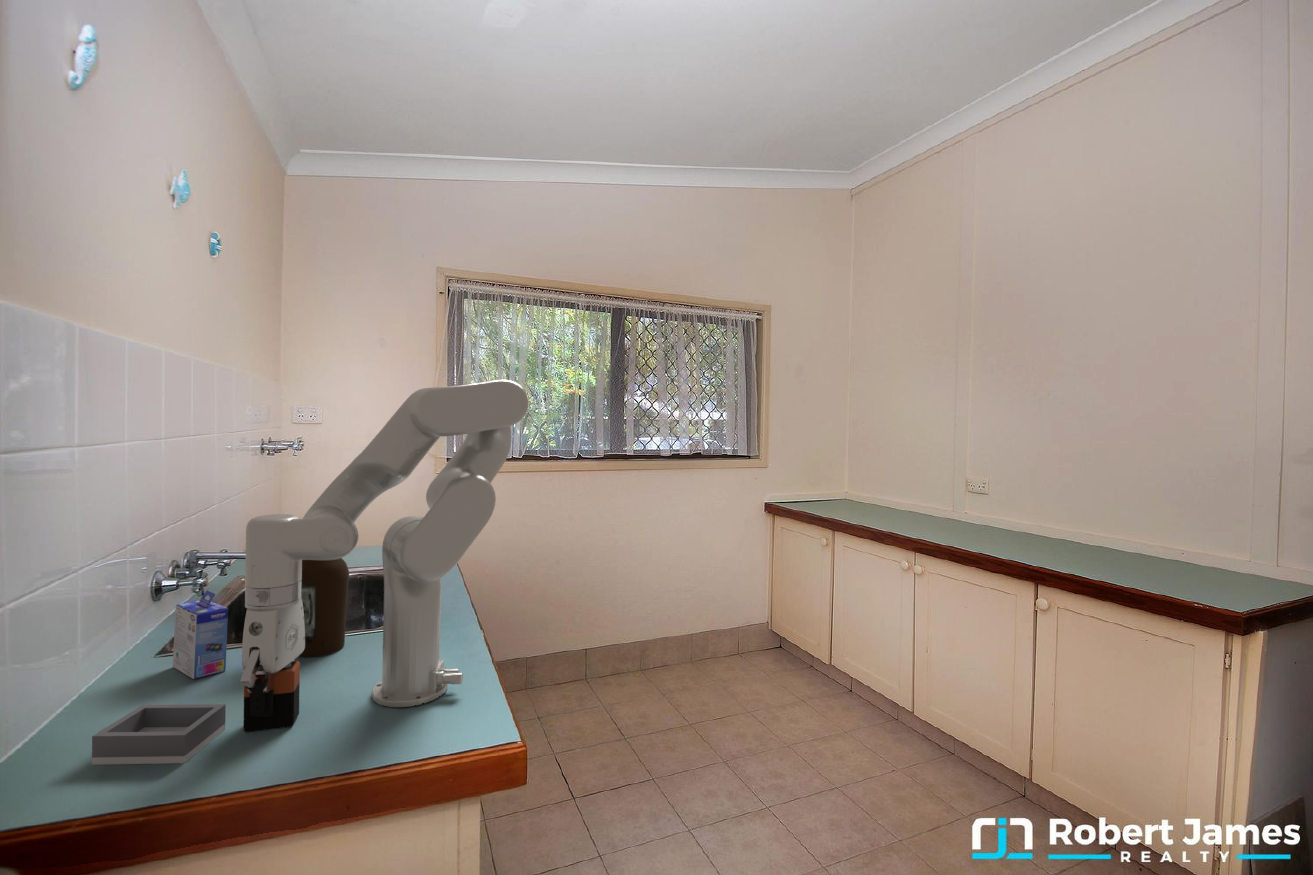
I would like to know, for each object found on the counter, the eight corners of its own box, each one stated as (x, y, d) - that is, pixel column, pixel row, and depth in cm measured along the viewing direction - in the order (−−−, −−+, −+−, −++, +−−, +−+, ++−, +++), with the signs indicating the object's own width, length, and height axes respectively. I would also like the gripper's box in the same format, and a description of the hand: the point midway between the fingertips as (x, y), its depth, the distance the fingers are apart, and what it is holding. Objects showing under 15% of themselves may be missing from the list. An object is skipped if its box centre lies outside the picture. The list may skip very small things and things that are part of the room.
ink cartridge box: (228, 670, 112) (230, 595, 112) (194, 681, 108) (195, 602, 107) (205, 658, 117) (206, 586, 117) (171, 667, 113) (172, 592, 112)
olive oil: (324, 636, 131) (327, 524, 130) (358, 644, 127) (361, 529, 126) (277, 652, 121) (279, 531, 121) (312, 662, 117) (315, 537, 116)
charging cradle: (225, 729, 92) (225, 704, 92) (184, 763, 83) (184, 735, 83) (142, 730, 91) (142, 704, 91) (91, 764, 82) (92, 736, 82)
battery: (293, 727, 93) (294, 665, 93) (242, 733, 91) (243, 669, 90) (299, 714, 97) (300, 654, 97) (251, 720, 95) (252, 658, 94)
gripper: (268, 611, 85) (266, 734, 86) (324, 579, 102) (322, 682, 103) (213, 611, 84) (211, 735, 85) (278, 578, 101) (276, 682, 102)
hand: (272, 705), depth 94 cm, fingers closed on battery, 5 cm apart
